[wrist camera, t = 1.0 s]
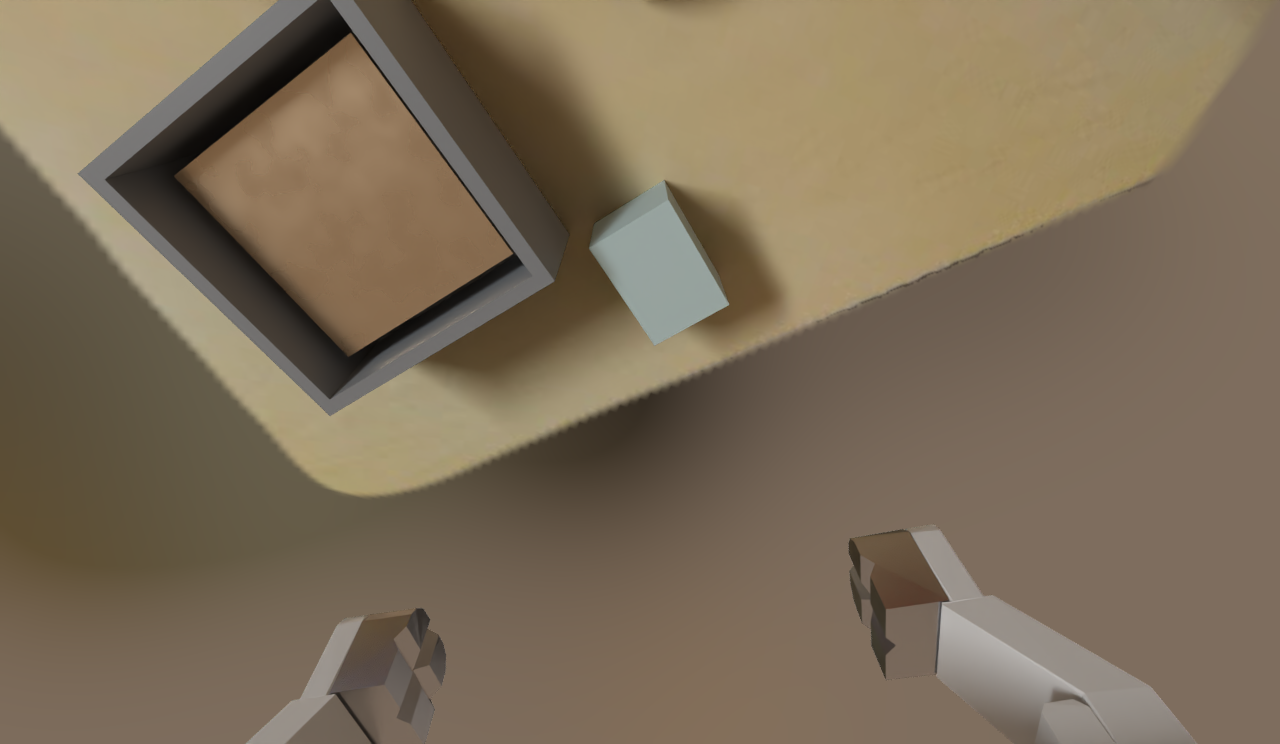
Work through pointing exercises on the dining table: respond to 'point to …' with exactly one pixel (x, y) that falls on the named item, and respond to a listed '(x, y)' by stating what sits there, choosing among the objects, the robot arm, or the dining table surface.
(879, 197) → the dining table surface
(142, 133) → the tote
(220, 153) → the brown layer
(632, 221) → the pale green block
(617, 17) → the dining table surface
